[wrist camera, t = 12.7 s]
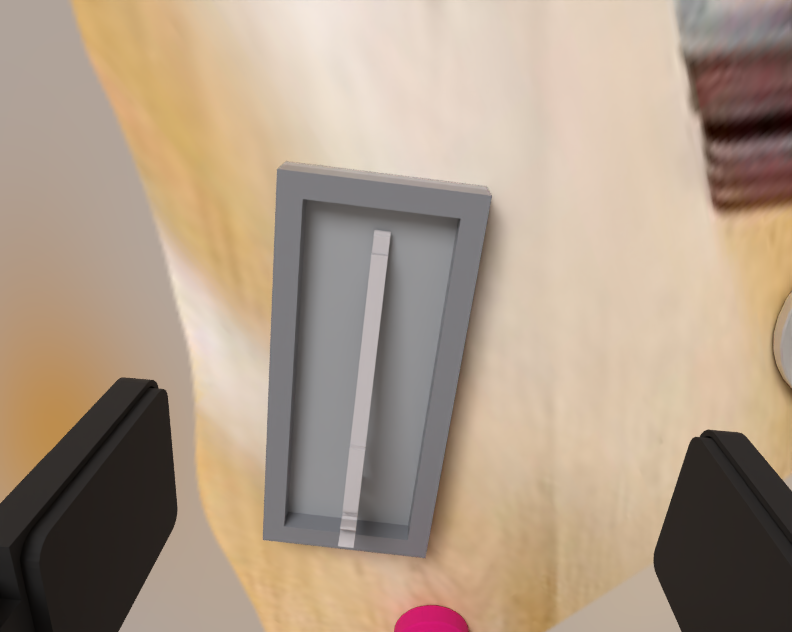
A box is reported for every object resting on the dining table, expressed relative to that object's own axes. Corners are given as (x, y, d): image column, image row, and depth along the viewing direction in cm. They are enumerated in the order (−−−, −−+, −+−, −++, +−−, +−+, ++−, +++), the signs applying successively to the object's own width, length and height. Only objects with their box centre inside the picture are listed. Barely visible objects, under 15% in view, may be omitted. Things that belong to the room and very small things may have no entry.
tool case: (486, 186, 36) (492, 195, 34) (424, 533, 47) (425, 558, 45) (285, 161, 36) (277, 168, 34) (270, 515, 47) (262, 539, 44)
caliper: (360, 498, 44) (352, 564, 39) (346, 496, 44) (336, 563, 39) (391, 230, 36) (387, 264, 31) (373, 228, 36) (365, 261, 30)
